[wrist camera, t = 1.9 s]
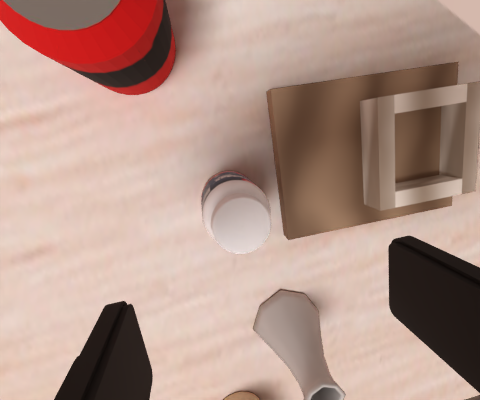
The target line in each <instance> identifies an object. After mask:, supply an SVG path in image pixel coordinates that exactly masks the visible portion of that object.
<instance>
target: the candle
mask: <svg viewBox="0 0 480 400" xmlns="http://www.w3.org/2000/svg"><path fill="white" fill-rule="evenodd" d="M224 400H260V399H259V398H258V397H257V396H256V395H255V394H253V393H250V392H236V393H233V394H231V395H229V396H228V397H226V398H225V399H224Z"/></svg>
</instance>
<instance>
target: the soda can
mask: <svg viewBox="0 0 480 400" xmlns="http://www.w3.org/2000/svg"><path fill="white" fill-rule="evenodd" d="M0 20H1V21H2V23H3V24H4V25H5V26H6V27H7V29H8V30H9V31H11V32H12V33H13V34H14V35H15V36H16V37H18V38H19V39H20V40H21V41H22V42H23V43H25V44H26V45H28V46H30V47H31V48H33V49H35V50H36V51H38V52H40V53H41V54H43V55H45V56H47V57H49V58H51V59H53V60H55V61H56V62H58V63H60V64H62V65H64V66H66V67H68V68H70V69H72V70H74V71H75V72H77V73H79V74H81V75H83V76H85V77H87V78H89V79H91V80H93V81H94V82H96V83H98V84H100V85H102V86H104V87H106V88H108V89H110V90H112V91H115V92H117V93H121V94H126V95H139V94H143V93H147V92H149V91H152V90H154V89H155V88H157V87H158V86H159V85H161V84H162V83H163V82H164V80H165V79H166V78H167V77H168V75H169V73H170V71H171V70H172V67H173V64H174V60H175V51H176V50H175V40H174V35H173V31H172V27H171V23H170V19H169V15H168V10H167V6H166V2H165V0H0Z"/></svg>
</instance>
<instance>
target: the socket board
mask: <svg viewBox="0 0 480 400" xmlns="http://www.w3.org/2000/svg"><path fill="white" fill-rule="evenodd" d="M457 78H458V62H454V63H447V64H440V65H433V66H426V67H419V68H413V69H406V70H399V71H392V72H385V73H378V74H372V75H365V76H358V77H351V78H344V79H338V80H331V81H324V82H317V83H310V84H303V85H297V86H290V87H283V88H276V89H270V90H269V91H267V100H268V109H269V117H270V125H271V133H272V141H273V149H274V158H275V166H276V174H277V182H278V190H279V199H280V207H281V215H282V223H283V231H284V235H285V236H286V238H287V239H288V240H291V239H295V238H300V237H305V236H310V235H314V234H319V233H324V232H329V231H333V230H338V229H343V228H348V227H352V226H357V225H362V224H367V223H371V222H376V221H381V220H386V219H390V218H395V217H400V216H405V215H409V214H414V213H419V212H424V211H428V210H433V209H438V208H443V207H447V206H452V196H455V195H460V194H465V193H469V192H474V191H476V178H477V163H478V148H479V133H480V81H479V82H473V83H467V84H460V85H457Z"/></svg>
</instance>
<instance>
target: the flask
mask: <svg viewBox="0 0 480 400" xmlns="http://www.w3.org/2000/svg"><path fill="white" fill-rule="evenodd" d="M253 330H254V331H255V332H256V333H257V334H258V335H259V336H260V337H261V338H262V339H263V340H264V341H265V342H266V343H267V344H268V345H269V347H270V348H271V349H272V350H273V351H274V352H275V353H276V354H277V355H278V356H279V357H280V359H281V360H282V361H283V362H284V363H285V364H286V365H287V366H288V368H289V369H290V371H291V372H292V374H293V375H294V377H295V378H296V380H297V382H298V383H299V385H300V388H301V390H302V392H303V395H304V400H344V397H345V395H346V394H345V392H344V391H343V390H342V389H341V388H340V387H339V386H338V384H337V383H336V382H335V381H334V380H333V378H332V377H331V375H330V372H329V369H328V366H327V363H326V360H325V357H324V352H323V345H322V339H321V331H320V320H319V312H318V309H317V308H316V307H315V306H314V305H313V304H312V302H311V301H310V300H309V299H308V298H307V296H306V295H305V294H302V293H296V292H290V291H283V290H280V291H279V292H277V293H276V294H275V295H274V296H272V297H271V298H270V299H269V300H267V301H266V302H265V303H264V304H262V305H261V306H260V308H259V311H258V314H257V317H256V321H255V324H254V327H253Z"/></svg>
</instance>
